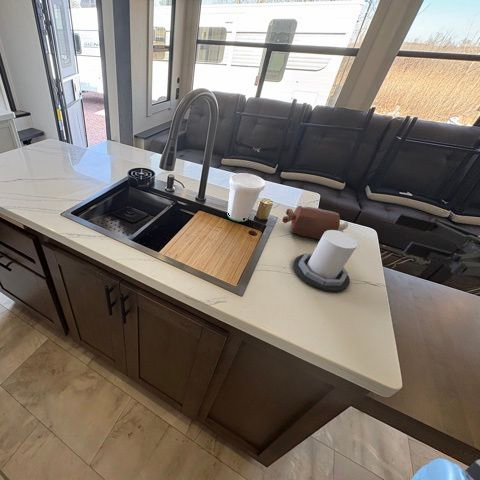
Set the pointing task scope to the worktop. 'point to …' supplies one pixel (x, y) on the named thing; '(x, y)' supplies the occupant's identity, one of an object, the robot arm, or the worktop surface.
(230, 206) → the cup
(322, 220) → the meat
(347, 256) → the white cylinder
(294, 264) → the coaster
